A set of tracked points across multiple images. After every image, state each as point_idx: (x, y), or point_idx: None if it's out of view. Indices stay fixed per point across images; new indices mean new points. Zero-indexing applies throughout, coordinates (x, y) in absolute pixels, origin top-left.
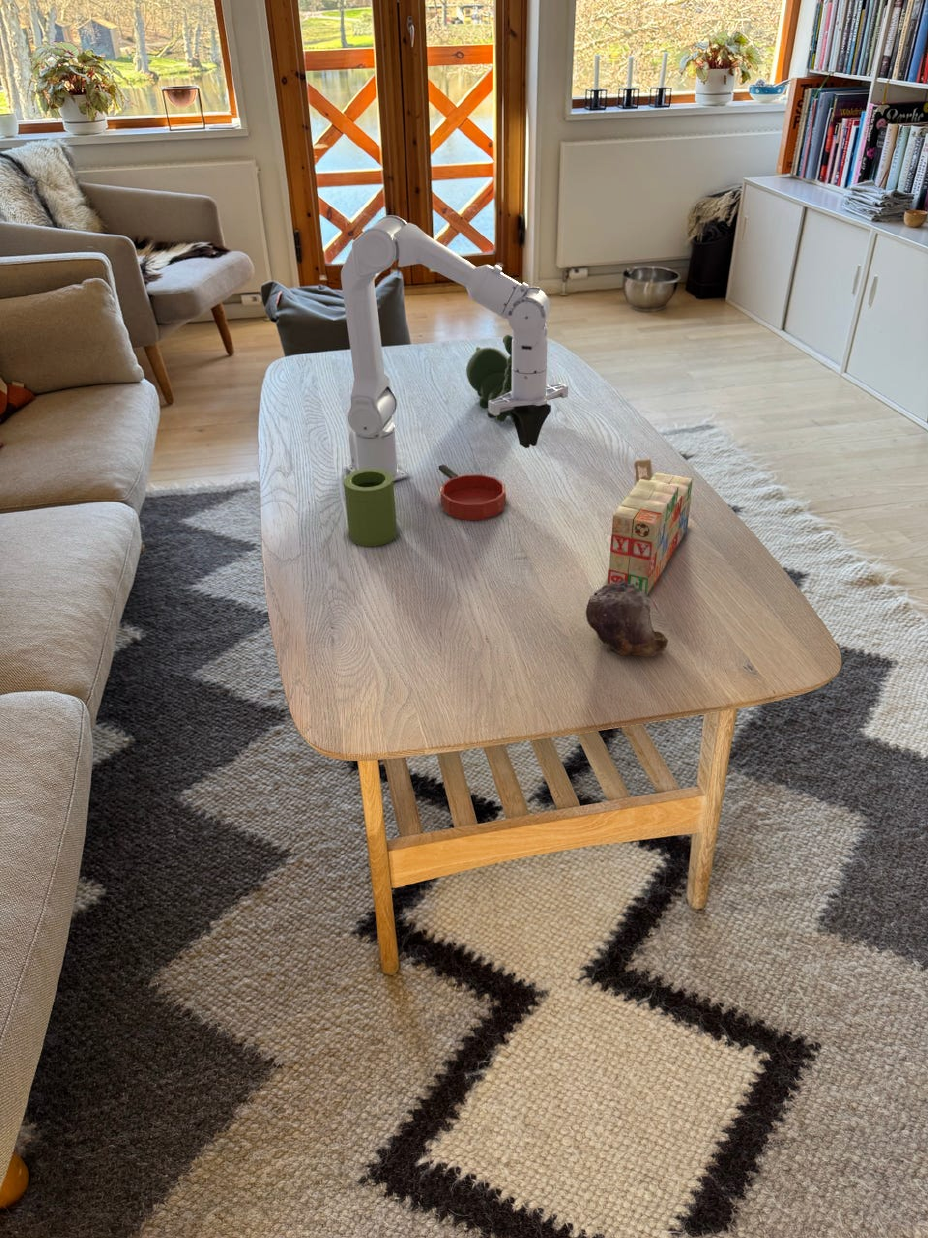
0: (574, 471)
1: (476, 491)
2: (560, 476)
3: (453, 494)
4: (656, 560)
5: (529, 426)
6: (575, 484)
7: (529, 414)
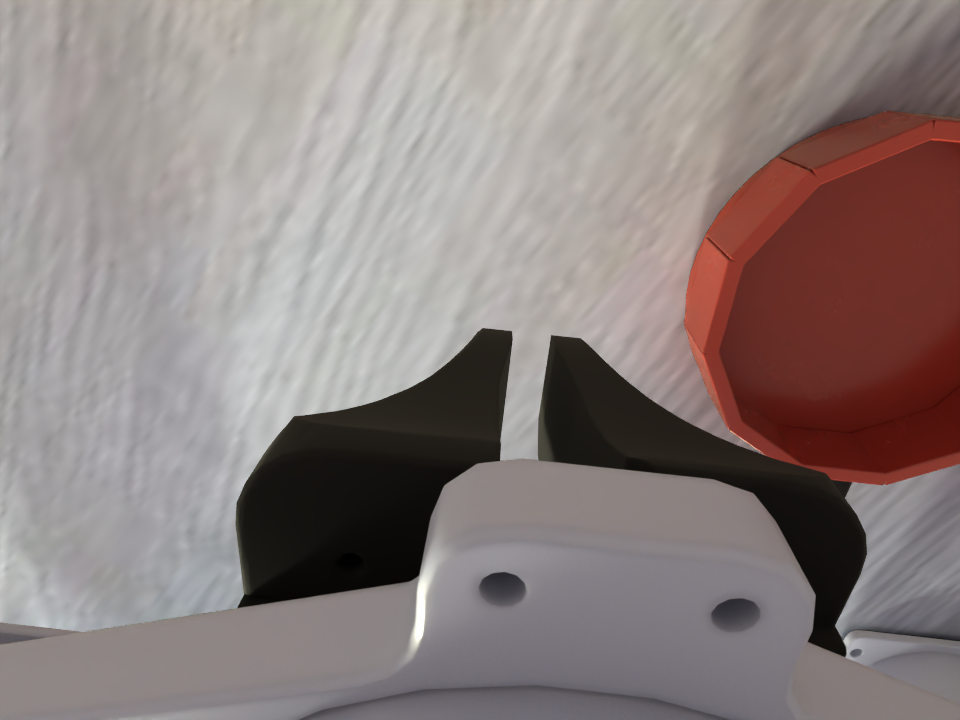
0: (204, 255)
1: (765, 369)
2: (298, 257)
3: (867, 411)
4: None
5: (613, 412)
6: (277, 132)
7: (747, 479)
